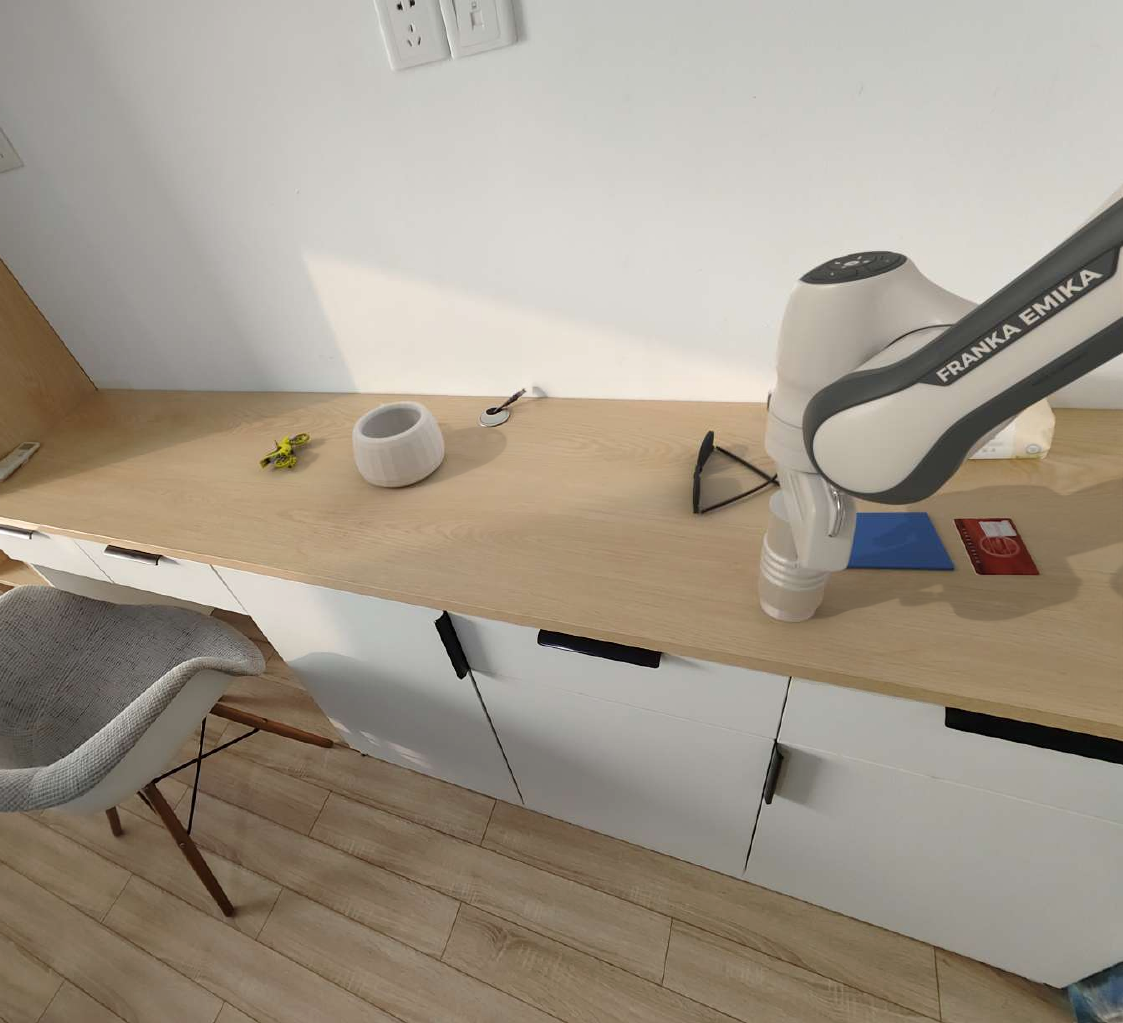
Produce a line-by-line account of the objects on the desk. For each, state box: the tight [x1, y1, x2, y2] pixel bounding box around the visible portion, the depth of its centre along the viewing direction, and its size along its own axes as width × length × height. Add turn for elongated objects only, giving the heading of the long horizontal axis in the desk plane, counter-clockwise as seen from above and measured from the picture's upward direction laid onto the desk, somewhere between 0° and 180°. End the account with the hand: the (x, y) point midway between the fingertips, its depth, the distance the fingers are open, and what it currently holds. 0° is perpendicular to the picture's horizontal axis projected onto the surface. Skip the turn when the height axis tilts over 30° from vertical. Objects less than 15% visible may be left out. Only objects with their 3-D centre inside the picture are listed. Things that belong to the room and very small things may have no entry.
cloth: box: [845, 511, 956, 571], centre depth 76 cm, size 12×10×1 cm
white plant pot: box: [351, 400, 446, 488], centre depth 112 cm, size 21×17×10 cm
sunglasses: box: [692, 430, 780, 515], centre depth 88 cm, size 17×14×5 cm
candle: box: [756, 488, 831, 623], centre depth 67 cm, size 7×7×15 cm
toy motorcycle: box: [259, 432, 311, 470], centre depth 124 cm, size 12×4×7 cm
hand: (796, 539), depth 66 cm, fingers open, 8 cm apart
